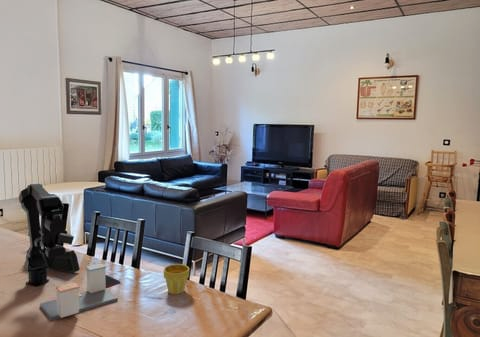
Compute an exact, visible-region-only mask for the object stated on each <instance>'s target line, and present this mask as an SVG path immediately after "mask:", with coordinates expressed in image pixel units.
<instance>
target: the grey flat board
mask: <svg viewBox="0 0 480 337" xmlns="http://www.w3.org/2000/svg"><path fill="white" fill-rule="evenodd" d="M118 300H119V299H118V296H116V295H115V294H113V293H112V291H110V290H109V289H107V288H106V289H105V290H101V291H97V292H94V293H90V292H89V291H87V290H86V291H82V292H79V313H82V312H84V311H88V310H91V309H93V308H94V309H95V308H97V307H101V306H104V305H108V304H112V303H115V302H118ZM39 307H40V309H41V310H42V311H43V312H44V314H45V315H46V316H47V317H48V318H49V320H50V321H54V320H57V319H62V318H61V317H60V316H59V315H58V314H57V298H56V299H53V300H49V301H46V302H41V303H39Z"/></svg>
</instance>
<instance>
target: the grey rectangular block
mask: <svg viewBox="0 0 480 337" xmlns="http://www.w3.org/2000/svg"><path fill="white" fill-rule="evenodd" d="M85 269H86V291H89V292H90V293H94V292H97V291H101V290H105V289H107V288H106V280H105V275H106V269H107V266H106V265H105V264H103V263H96V264H93V265H88V266H86V267H85Z"/></svg>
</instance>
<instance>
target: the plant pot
mask: <svg viewBox="0 0 480 337" xmlns="http://www.w3.org/2000/svg"><path fill="white" fill-rule="evenodd" d="M189 277H190V266H187V265H186V264H181V263H174V264H169V265H167V266H165V267H164V268H163V278H164V279H165V282H166V287H167V292H168V294H171V295H180V293H181V294H183V293H184V292H185V290H186V285H187V280H188V279H189Z"/></svg>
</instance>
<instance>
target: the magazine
mask: <svg viewBox="0 0 480 337" xmlns="http://www.w3.org/2000/svg"><path fill="white" fill-rule="evenodd" d="M29 249H30V247H28V249H27V250H26V256H25V259H26V258H27V253H28V251H29ZM77 256H78V255H77V254H76V252H75V250H73V249H72V250H66V254H65V255H59V256H55V259H54V263H53V266H52V268H46V270H47V269H48V270H52V271H57V272H67V273H68V272H69V273H76V272H77V273H78V272H79V271H80V270H81V268H80V265H79V260H78V257H77Z"/></svg>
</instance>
